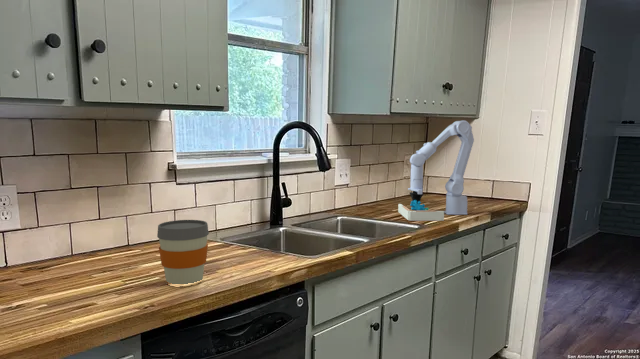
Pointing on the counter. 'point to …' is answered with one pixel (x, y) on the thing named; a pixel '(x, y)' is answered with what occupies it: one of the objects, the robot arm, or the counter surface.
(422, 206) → the blue toy dinosaur
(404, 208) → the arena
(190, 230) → the reusable coffee cup
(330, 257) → the counter surface
